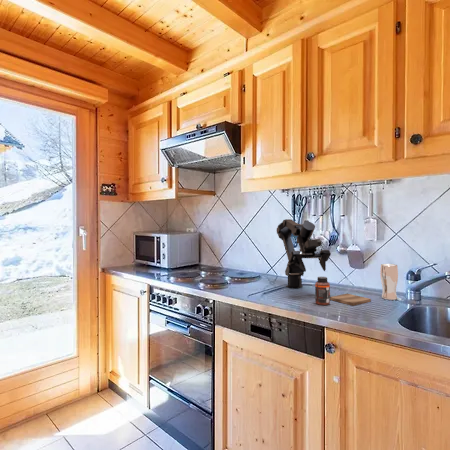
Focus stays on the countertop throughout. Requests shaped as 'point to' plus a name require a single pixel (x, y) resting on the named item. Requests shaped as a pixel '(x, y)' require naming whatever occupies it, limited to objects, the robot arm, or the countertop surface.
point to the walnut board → (350, 299)
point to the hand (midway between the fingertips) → (315, 270)
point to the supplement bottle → (322, 291)
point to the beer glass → (389, 281)
